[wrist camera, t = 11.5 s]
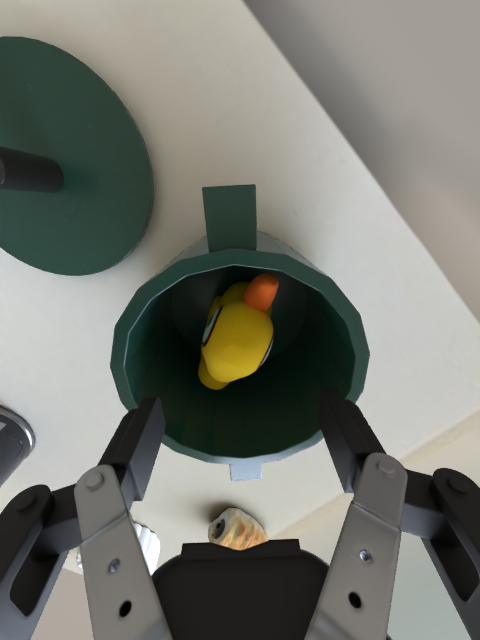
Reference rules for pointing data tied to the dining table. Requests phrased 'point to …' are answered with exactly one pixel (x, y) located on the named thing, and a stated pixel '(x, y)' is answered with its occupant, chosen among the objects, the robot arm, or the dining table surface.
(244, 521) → the pastry
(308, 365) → the pot
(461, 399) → the dining table surface
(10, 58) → the lid
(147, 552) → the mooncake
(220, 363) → the duckling
